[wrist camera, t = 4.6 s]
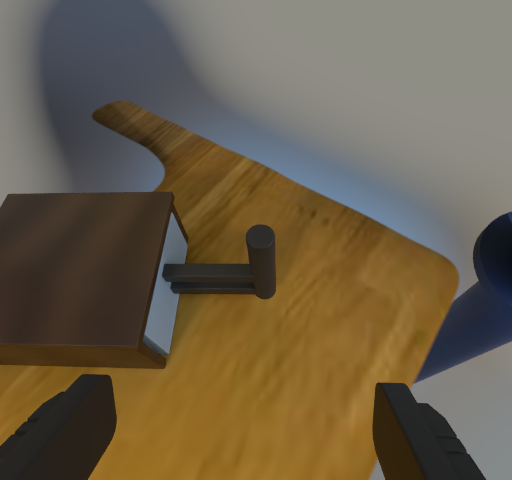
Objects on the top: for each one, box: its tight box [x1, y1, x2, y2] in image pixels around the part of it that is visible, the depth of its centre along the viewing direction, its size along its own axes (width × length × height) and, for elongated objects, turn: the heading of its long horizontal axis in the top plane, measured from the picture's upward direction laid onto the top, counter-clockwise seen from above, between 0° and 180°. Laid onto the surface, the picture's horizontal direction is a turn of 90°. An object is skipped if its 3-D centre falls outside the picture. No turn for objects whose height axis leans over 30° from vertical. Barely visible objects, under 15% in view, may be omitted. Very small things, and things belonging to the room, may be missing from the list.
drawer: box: [143, 212, 276, 354], centre depth 27 cm, size 23×11×10 cm, turn 88°
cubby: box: [0, 192, 188, 369], centre depth 29 cm, size 16×14×8 cm
